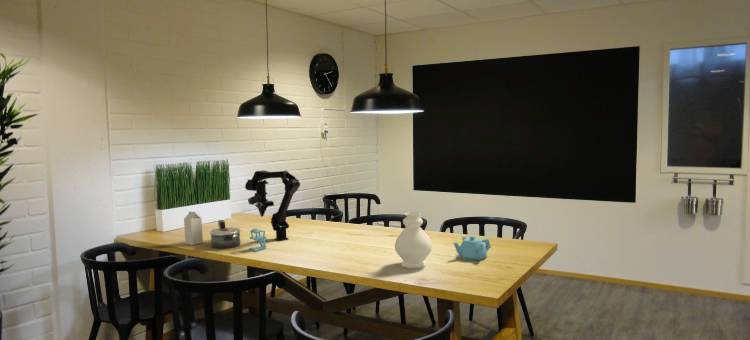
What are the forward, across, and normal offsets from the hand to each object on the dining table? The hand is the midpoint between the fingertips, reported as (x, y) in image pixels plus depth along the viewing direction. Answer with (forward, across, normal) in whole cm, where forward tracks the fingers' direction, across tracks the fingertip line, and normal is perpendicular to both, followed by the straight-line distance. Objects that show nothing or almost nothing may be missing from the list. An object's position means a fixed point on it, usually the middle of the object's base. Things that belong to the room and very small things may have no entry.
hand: (262, 216), depth 324 cm
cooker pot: (+13, 0, -25) cm, 28 cm away
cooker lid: (+6, -1, -25) cm, 26 cm away
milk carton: (+14, -18, -36) cm, 42 cm away
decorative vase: (+13, +112, +14) cm, 114 cm away
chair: (+13, +26, -19) cm, 35 cm away
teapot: (+12, +125, +43) cm, 133 cm away
